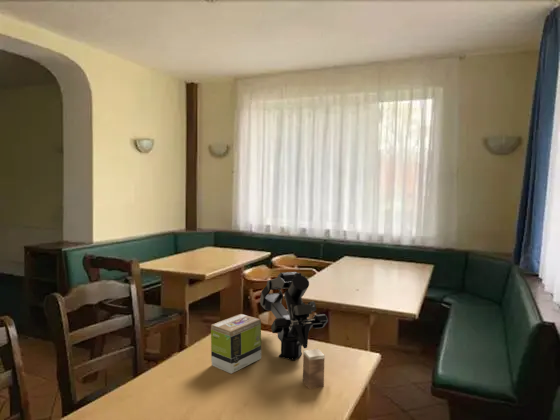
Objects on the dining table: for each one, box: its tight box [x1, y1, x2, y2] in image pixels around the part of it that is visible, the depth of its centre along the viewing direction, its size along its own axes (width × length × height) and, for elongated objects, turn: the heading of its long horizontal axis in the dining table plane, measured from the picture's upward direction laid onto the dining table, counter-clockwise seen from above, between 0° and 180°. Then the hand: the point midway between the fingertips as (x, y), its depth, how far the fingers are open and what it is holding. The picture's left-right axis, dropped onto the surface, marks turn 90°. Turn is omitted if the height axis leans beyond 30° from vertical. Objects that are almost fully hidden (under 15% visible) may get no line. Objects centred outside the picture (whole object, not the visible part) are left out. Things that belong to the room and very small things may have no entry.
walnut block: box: [302, 348, 325, 390], centre depth 134 cm, size 5×5×10 cm
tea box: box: [210, 313, 262, 374], centre depth 147 cm, size 15×10×15 cm, turn 141°
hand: (305, 347), depth 140 cm, fingers closed
